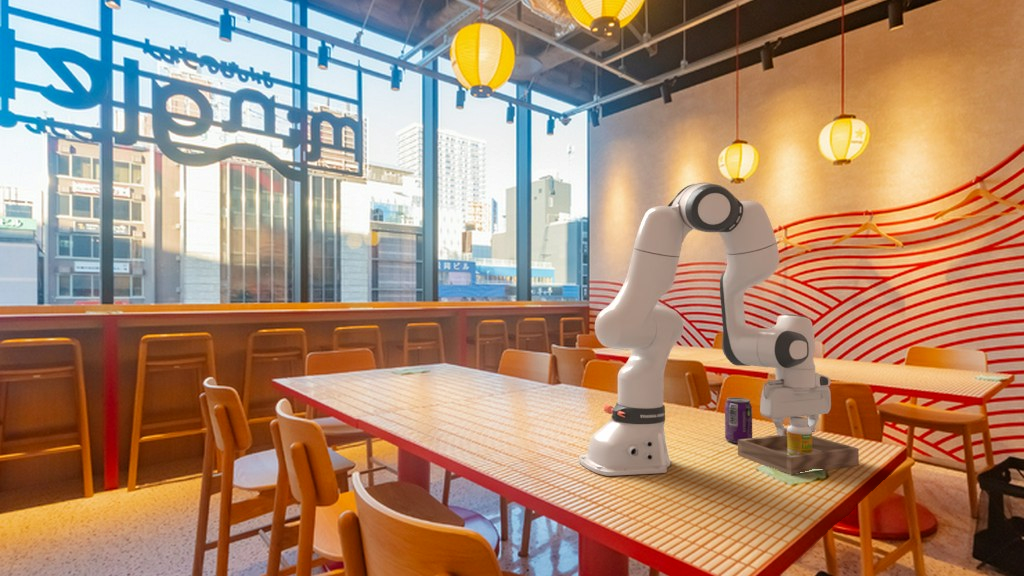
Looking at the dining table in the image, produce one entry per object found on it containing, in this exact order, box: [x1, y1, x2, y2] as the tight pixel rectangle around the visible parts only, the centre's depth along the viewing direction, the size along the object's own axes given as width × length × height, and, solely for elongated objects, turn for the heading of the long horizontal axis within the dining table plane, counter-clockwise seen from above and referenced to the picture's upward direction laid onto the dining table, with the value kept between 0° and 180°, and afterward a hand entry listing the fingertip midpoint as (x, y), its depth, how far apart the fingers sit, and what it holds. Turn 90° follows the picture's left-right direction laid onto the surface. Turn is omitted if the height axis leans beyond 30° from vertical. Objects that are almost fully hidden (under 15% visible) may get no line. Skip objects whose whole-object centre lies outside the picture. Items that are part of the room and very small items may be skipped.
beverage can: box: [724, 397, 753, 445], centre depth 142 cm, size 7×7×12 cm
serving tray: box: [737, 434, 860, 476], centre depth 125 cm, size 22×16×4 cm
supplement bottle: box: [786, 416, 813, 456], centre depth 124 cm, size 5×5×10 cm
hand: (796, 433), depth 125 cm, fingers open, 8 cm apart
